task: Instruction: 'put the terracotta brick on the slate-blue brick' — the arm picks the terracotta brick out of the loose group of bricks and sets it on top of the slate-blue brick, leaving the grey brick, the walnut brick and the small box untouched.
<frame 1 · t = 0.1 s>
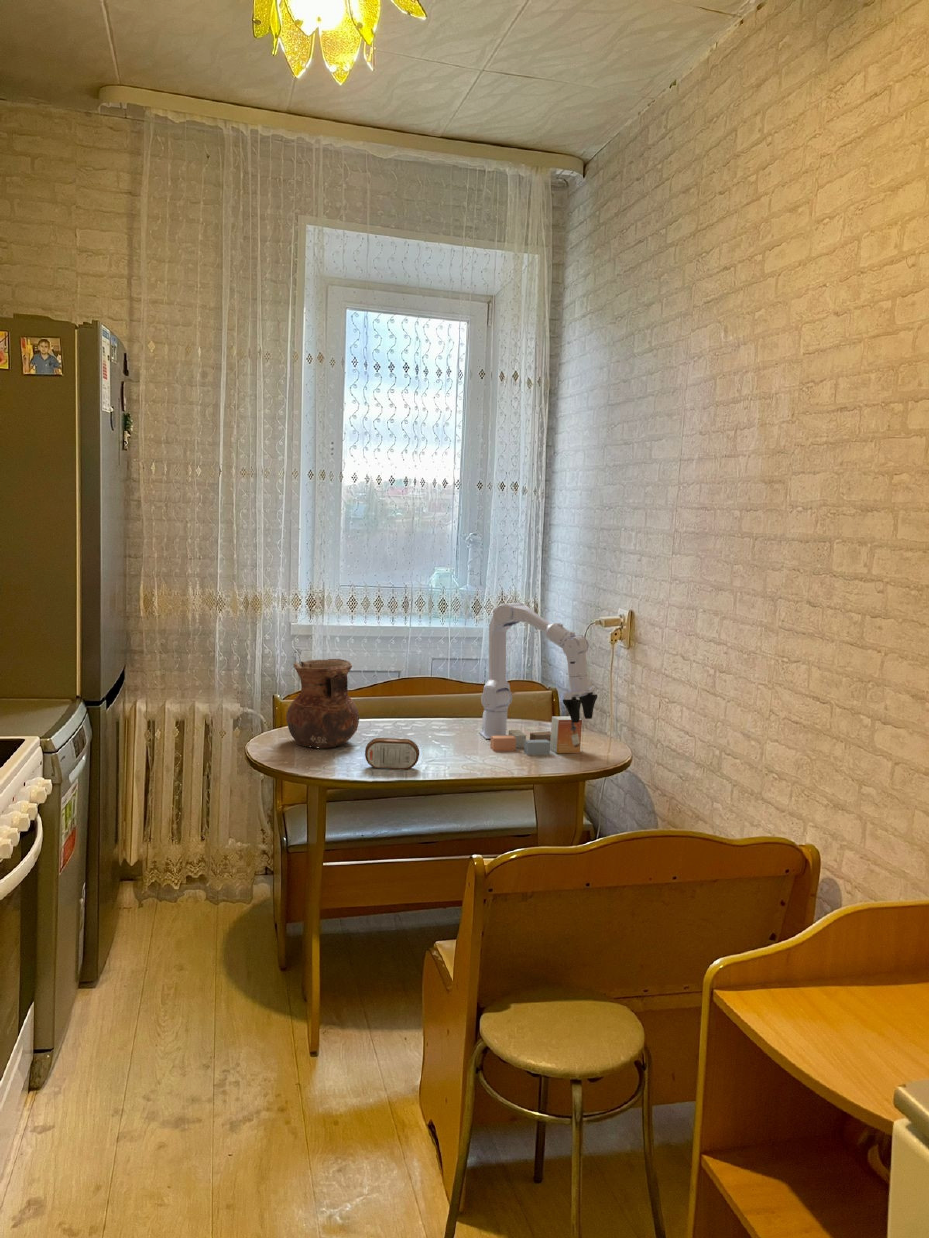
hand: (582, 720, 278), 11 cm above the table, tool pointing down, fingers open, 7 cm apart
small box: (564, 751, 282), on the table
terracotta brick: (502, 749, 281), on the table
slate brick: (536, 754, 278), on the table
tin: (391, 769, 254), on the table
jug: (322, 744, 279), on the table
walnut brick: (541, 745, 289), on the table
grey brick: (516, 745, 288), on the table
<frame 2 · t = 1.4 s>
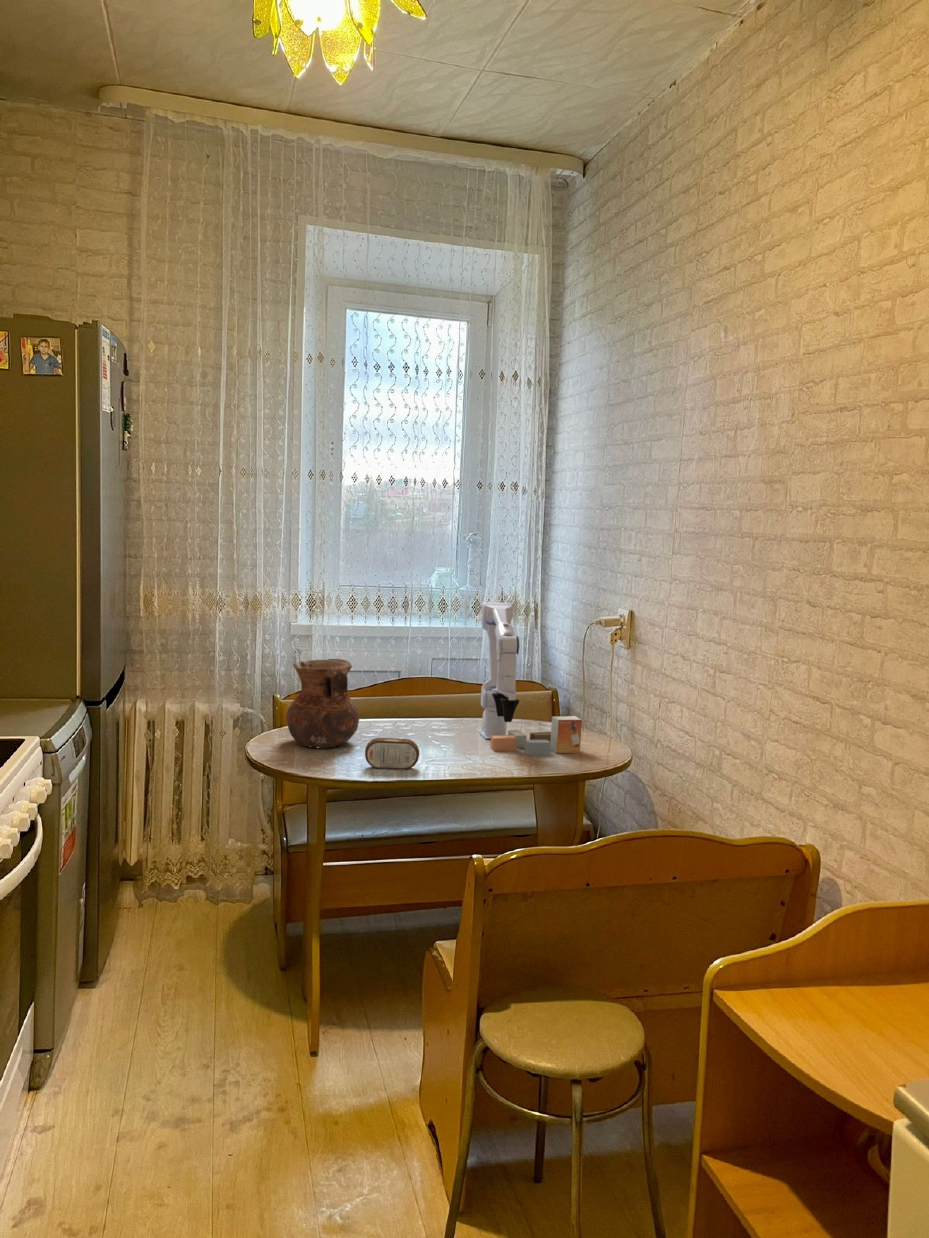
hand: (504, 718, 280), 9 cm above the table, tool pointing down, fingers open, 7 cm apart
nothing on the table moved.
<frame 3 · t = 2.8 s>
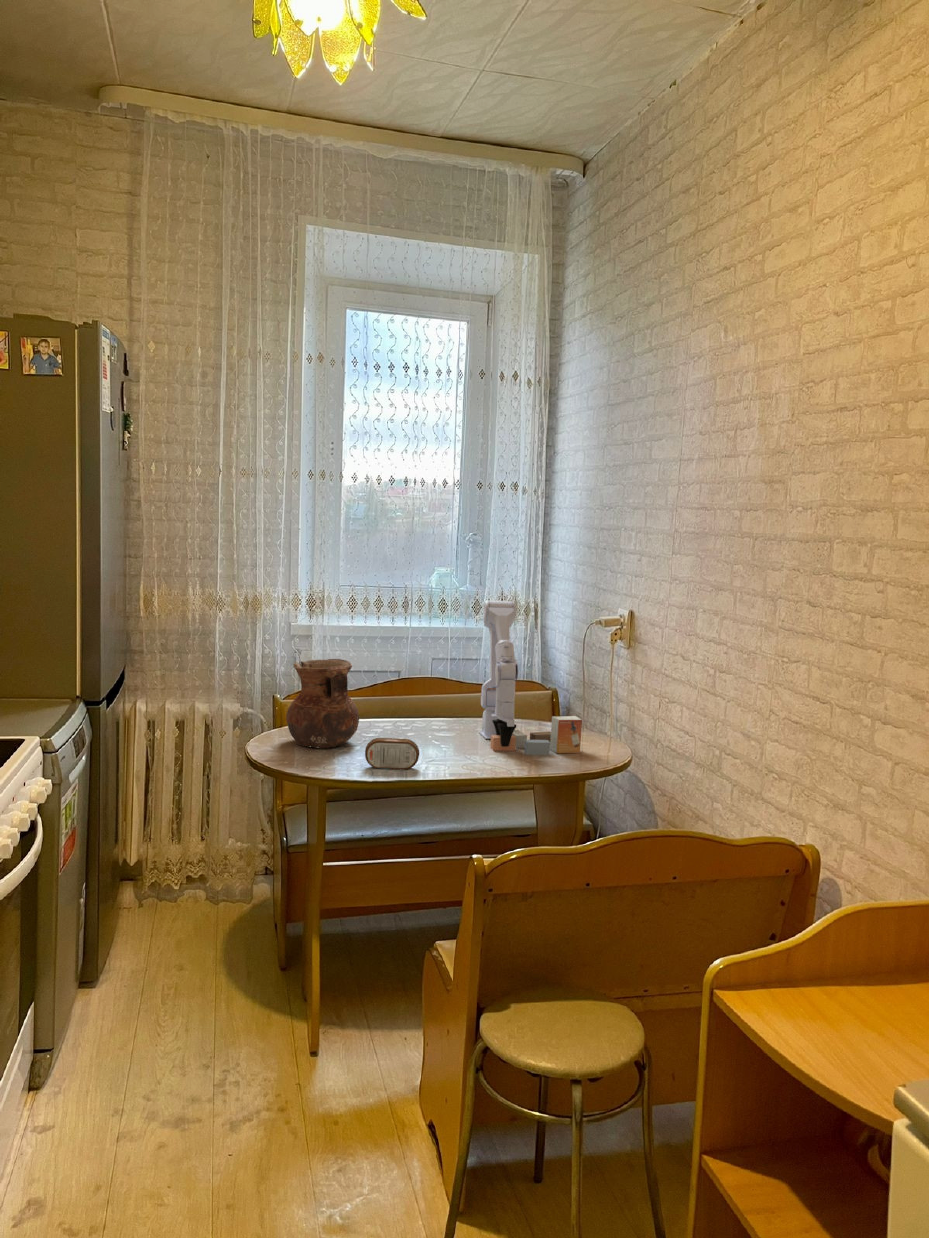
hand: (503, 744, 281), 1 cm above the table, tool pointing down, fingers closed on terracotta brick, 4 cm apart
terracotta brick: (502, 749, 281), on the table, touching gripper
everything else where it was.
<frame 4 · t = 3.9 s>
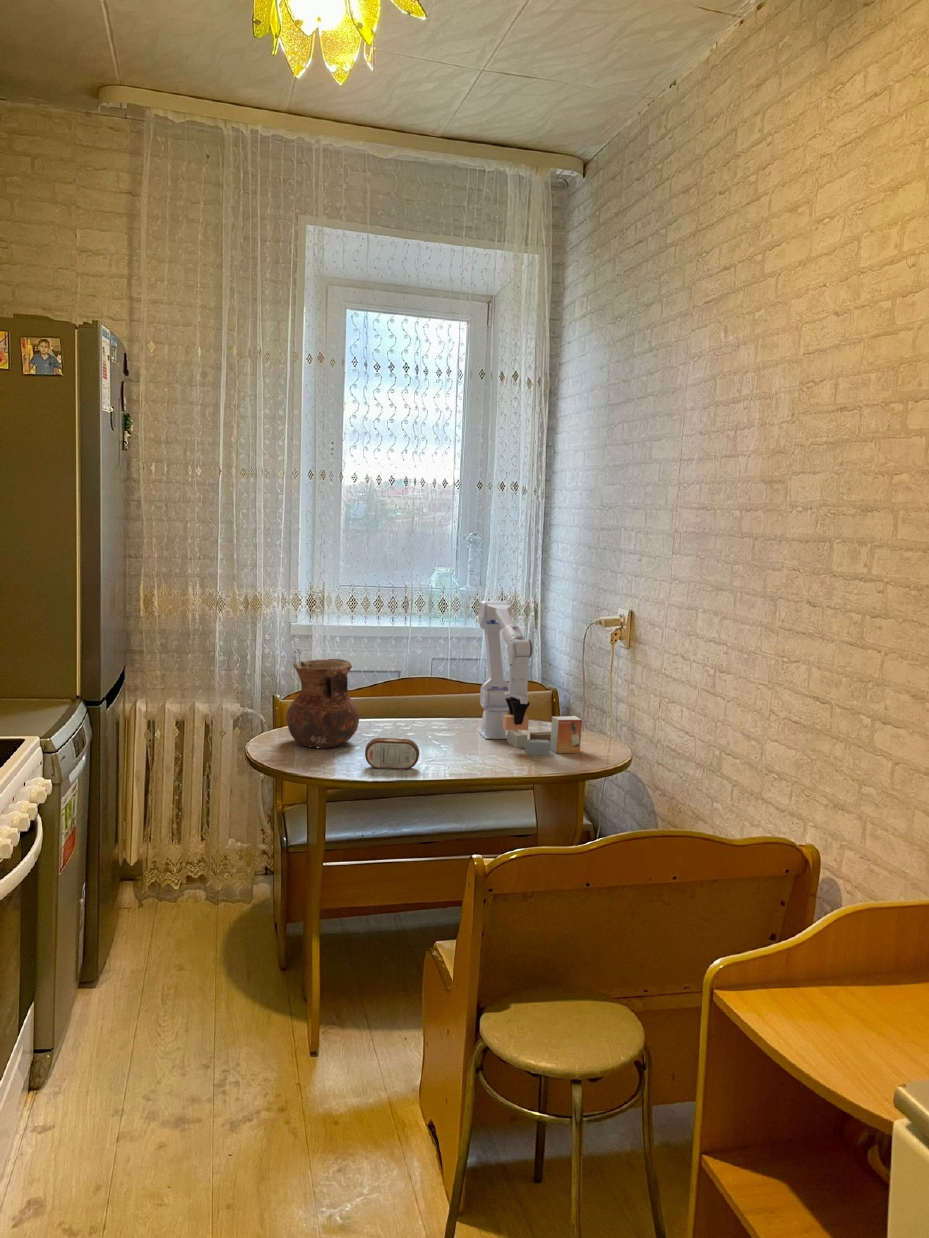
hand: (516, 722, 279), 9 cm above the table, tool pointing down, fingers closed on terracotta brick, 3 cm apart
terracotta brick: (515, 728, 279), point 7 cm above the table, touching gripper
everything else where it was.
when the fingers open (7 cm above the table, at t = 5.0 s): terracotta brick stays where it is, resting on slate brick.
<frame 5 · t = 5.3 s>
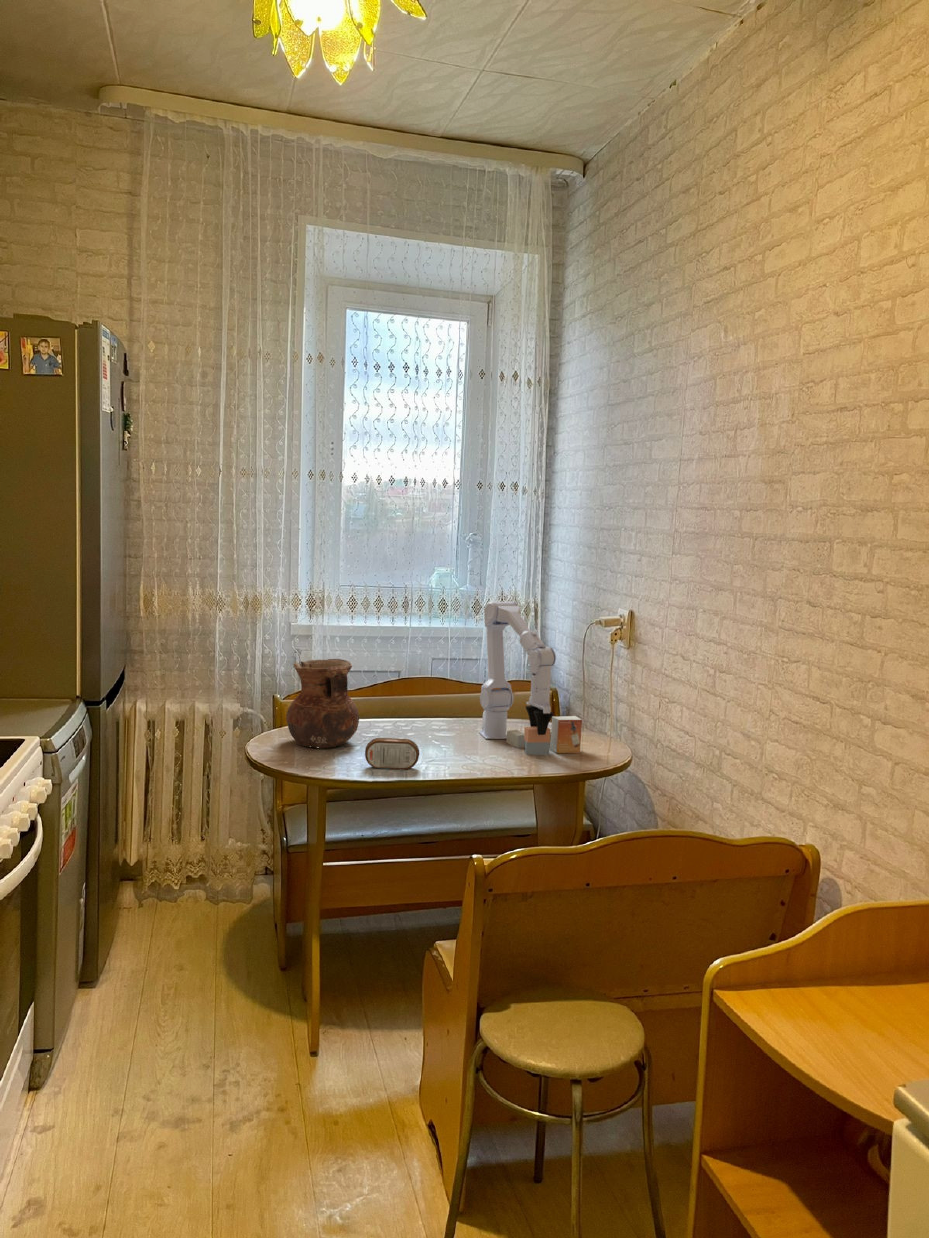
hand: (538, 732, 277), 7 cm above the table, tool pointing down, fingers open, 6 cm apart
terracotta brick: (536, 741, 277), point 4 cm above the table, touching slate brick
slate brick: (536, 753, 278), on the table, touching terracotta brick
everything else where it was.
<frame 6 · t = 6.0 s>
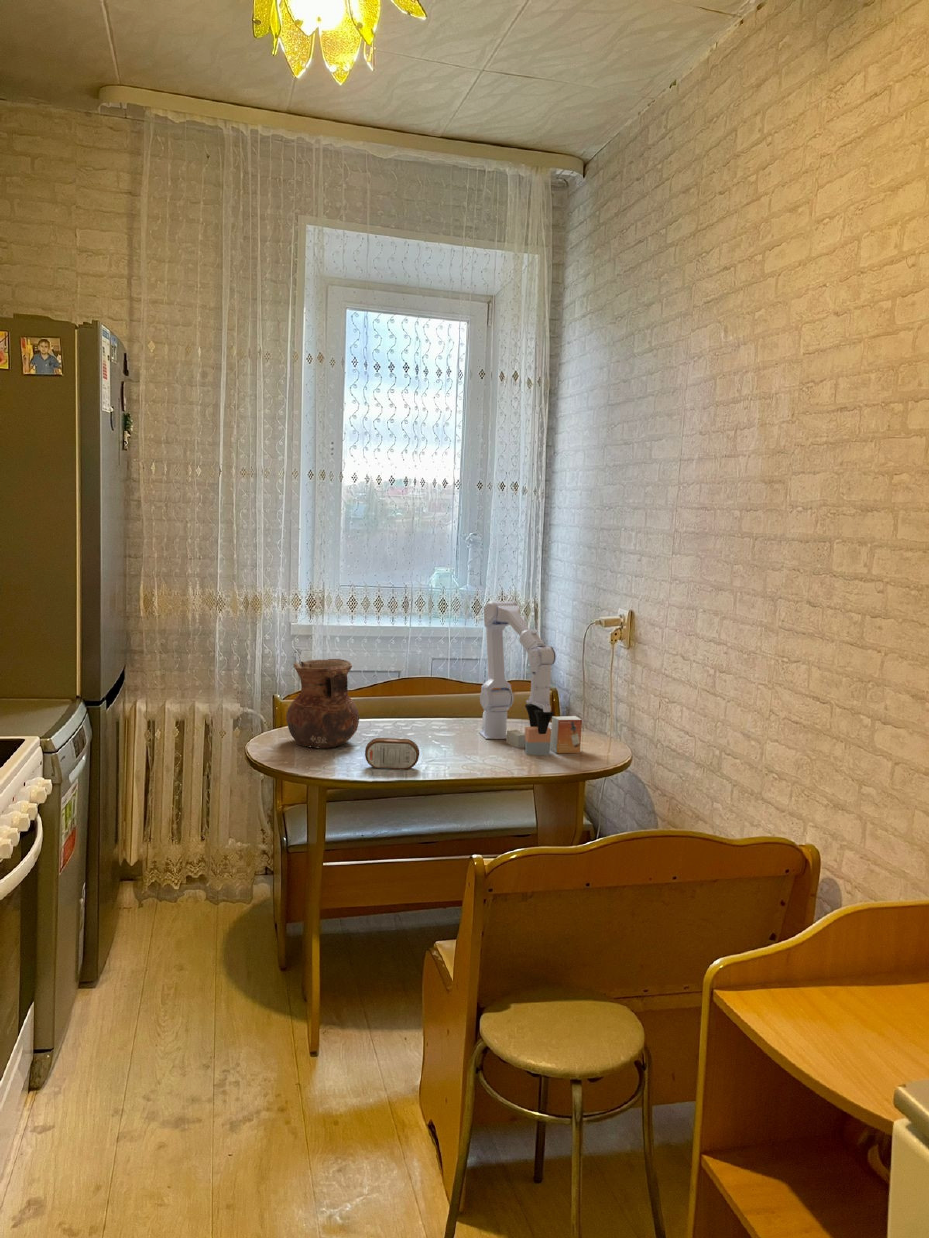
hand: (538, 730, 277), 7 cm above the table, tool pointing down, fingers open, 7 cm apart
nothing on the table moved.
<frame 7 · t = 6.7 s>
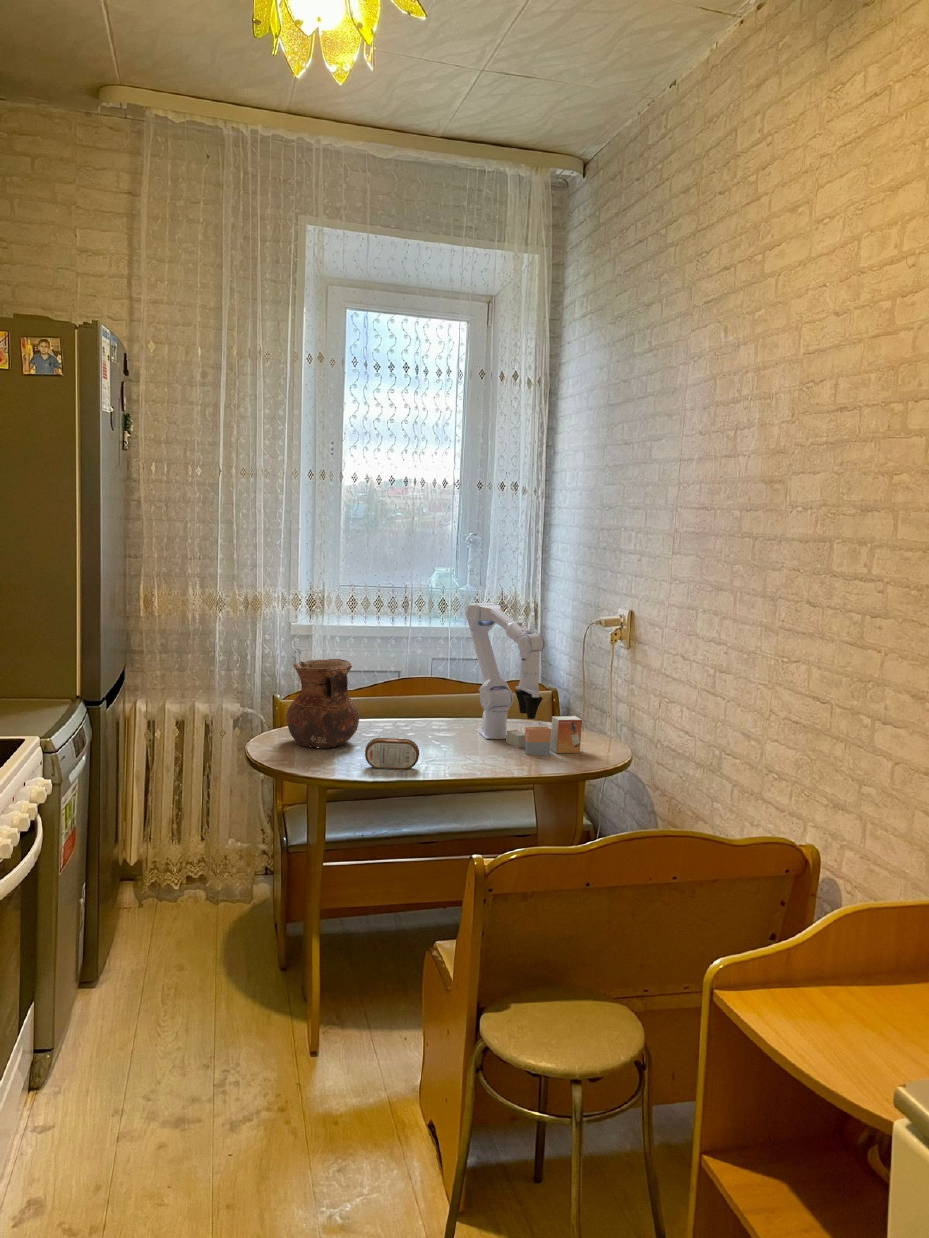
hand: (527, 715, 284), 10 cm above the table, tool pointing down, fingers open, 7 cm apart
nothing on the table moved.
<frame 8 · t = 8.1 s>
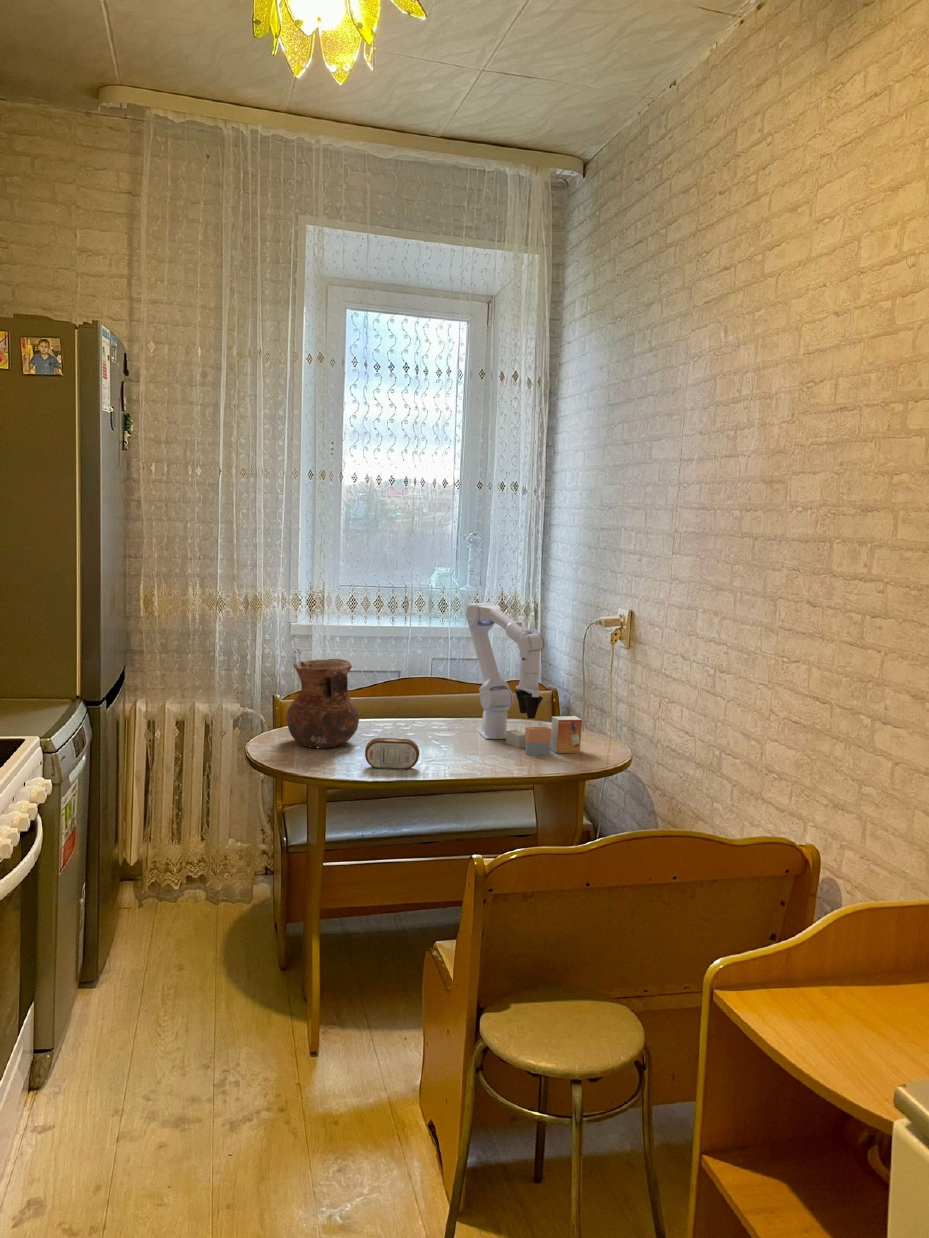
hand: (527, 715, 284), 10 cm above the table, tool pointing down, fingers open, 7 cm apart
nothing on the table moved.
at the end: terracotta brick 0.0 cm off-centre on the slate brick, point 4.0 cm above the slate brick's base; grey brick moved 0.2 cm from its start; walnut brick moved 0.3 cm from its start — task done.
